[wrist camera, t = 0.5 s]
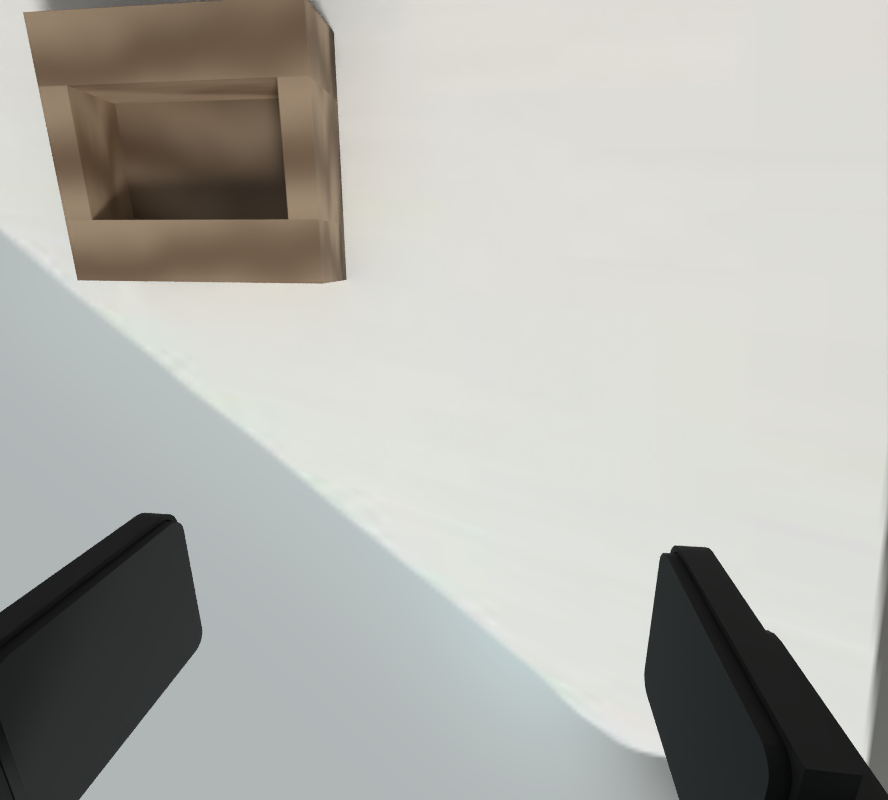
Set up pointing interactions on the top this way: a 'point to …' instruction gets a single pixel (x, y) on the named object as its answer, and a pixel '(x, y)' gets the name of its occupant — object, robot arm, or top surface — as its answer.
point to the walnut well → (195, 140)
